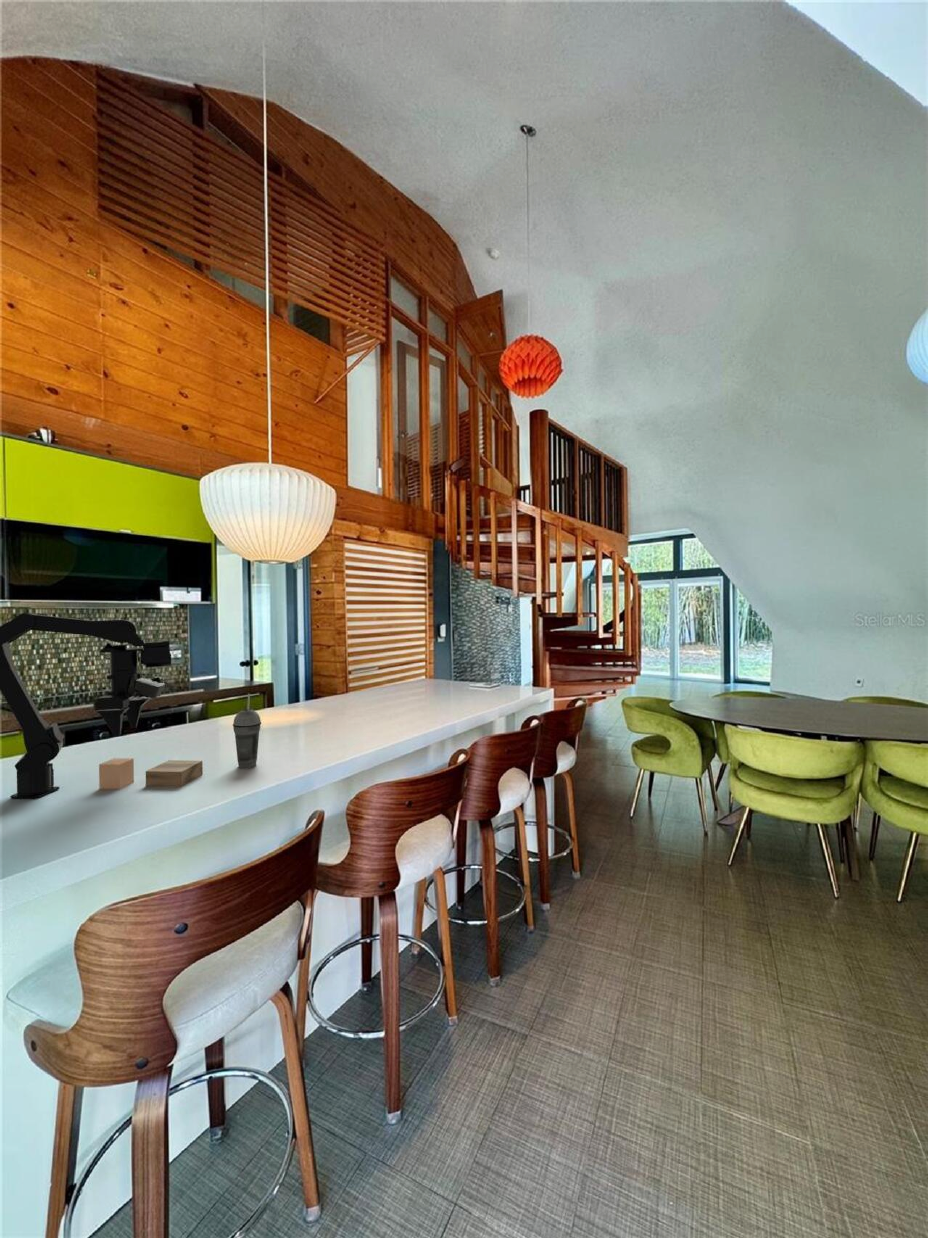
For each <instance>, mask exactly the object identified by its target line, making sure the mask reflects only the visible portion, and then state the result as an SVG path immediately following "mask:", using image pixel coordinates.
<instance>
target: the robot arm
mask: <svg viewBox="0 0 928 1238" xmlns="http://www.w3.org/2000/svg"><path fill="white" fill-rule="evenodd" d="M30 631H37V632H38V631H39V632H50V633H58V634H59V633H61V634H70V635H71V634H72V635H80V636H81V635H82V636H92V637H93V638H98V639H103V640H106V641H110V642H107V643H106V644H105V646H104V647H103V648H101V649H100V650H99V652H100V653H102V654H103V653H104V654H105V653H109V666H110V667H109V669H110V672H109V673H110V674H107V675H106V680H110V691H107V692H106V693H107V695H103V696H99V697H97V698H96V699H95V700H94V701H93V703H92V704H93V706H92V707H93V711H96V713H97V714H99V715H100V717H101V718H102V719H103V720H104V722H105V723H106V725H107V727H108V728H109V730H110V731H111V733H112V735H113V736H114V737H120V736H121V734H122V728H123V717H124V714H125V715H126V718H127V720H128V723H129V725H130V727H131V728H132V729H133V728H137V726H138V723H139V719H140V715H141V712H142V708H143V706H144V705H145V704H146V703H147V702H148V701H150V700H151V699H157V698H158V697H161V694H162V693H163V690H165V688H166V685H165V683H164V680H163V679H164V678H163V677H162V676H155V677H153V678H152V679H150V678H148V679H147V678H143V673H142V672H141V671H138V670H139V669H138V668H139V667H138V663H139V662H138V652H140V653H139V654H140V665H143V666H145V668H146V669H152V668H153V669H154V668H167V667H168V668H170V667H171V666H172V653H171V647H170V640H162V641H146V642H145V640H144V638H142V637H141V635H139V634H138V633H137V632H138V631H137V626H136V624H135V623H134V622H132V621H131V620H128V619H104V620H103V619H101V620H90V619H79V618H70V617H62V616H51V615H42V614H35V613H33V612H23V613H20V614H18V615H17V616H15V618H13V619H11V620H10V621H8V622H5V623H3V624H2V625H0V693H1V694H2V696H3V698H4V700H5V702H6V704H7V705H8V707H9V709H10V710H11V712H12V714H13V716H14V718H15V719H16V721H17V722H18V725H19V726H20V728H21V730H22V738H23V744H24V748H25V751H26V752H25V753H24V754H23V755H22V757H20V759H19V760H18V761H17V762H16V763H15V764H14V768H15V769H16V793H14V794H11V795H10V799H39V798H41V797H44V796H45V795H48V794H50V793H53V792H55V791H58V790H60V786H55V785H54V784H55V783H54V782H55V777H54V775H55V774H54V772H55V771H54V767H53V764H54V763H53V762H52V763H51V761H52V760H54V759H55V758H57V756H58V754H59V753H60V752H61V750H62V748H63V745H64V738H65V735H64V734H63V733H61V731H60V728H59V725H58V723H57V722H53V723H52V724H49V723H48V722H47V721H46V720H45V719H44V718H43V717H42V715H41V713H40V710H39V709H38V708H37V706H36V704H35V702H34V701H33V699H32V697H31V695H30V693H29V691H28V690H27V687H26V686H25V684H24V682H23V680H22V679H21V677H20V675H19V674H18V672H17V670H16V667H15V664H14V661H13V660H14V659H13V652H12V650H11V646H10V644H12V643H13V642H15V641H17V639H19V638H21V637H22V636H25V634H27V633H29V632H30ZM111 642H114V643H117V644H116V645H114V644H111ZM125 643H127V644H129V645H131V646H133V647H135V648H127V644H125ZM136 647H137V648H136ZM138 647H139V648H138Z"/></svg>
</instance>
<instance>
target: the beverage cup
mask: <svg viewBox="0 0 928 1238" xmlns="http://www.w3.org/2000/svg"><path fill="white" fill-rule="evenodd" d="M250 699H251V693H247V707H246V709H242V710H240V711H239V712H237V713H236V715H235V717H234V718H233V724H232V728H233V732H234V737H235V747H236V757H237V764H238V768H239V769H251V768H254V766H255V767H256V766H257V761H258V753H259V752H258V751H259V738H260V730H261V725H262V720H261V717H260V715H259V714H258V712H257V711H255V710H254V709H252V708H250V704H251V703H250V701H251V700H250Z"/></svg>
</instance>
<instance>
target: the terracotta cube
mask: <svg viewBox="0 0 928 1238" xmlns="http://www.w3.org/2000/svg"><path fill="white" fill-rule="evenodd" d="M134 760H135V759H134V757H133V758H130V757H129V758H128V757H127V758H126V757H124V758H123V757H122V758H120V757H119V758H116V757H115V758H114V757H113V758H112V759H109V760H107V761H106V760H105V761H104V762H101V763H99V764H98V778H99V780H98V781H99V782H98V783H99V784H98V785H99V786H98V787H99V790H122V789H123V788H125V787H127V786H129V785H131V784H134V782H135V773H134V771H135V769H134V766H135V763H134V762H135V761H134Z"/></svg>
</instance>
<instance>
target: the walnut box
mask: <svg viewBox="0 0 928 1238" xmlns="http://www.w3.org/2000/svg"><path fill="white" fill-rule="evenodd" d="M203 765H204V764H203V760H179V759H178V760H173V759H172V760H169V759H168V760H167V761H165V762H163V763H160V764H158V765H155V766H154V767H152V768H149V769H148V770H146V771H145V787H165V788H167V786H168V788H169V787H171V788H174V787H175V788H176V787H177V788H181V787H185V786H186V785H187V784H189V783H191V782H192V781H195V780H196V779H198V778H200V777H201V776H203V775H204V774H203ZM194 779H195V780H194ZM185 784H186V785H185ZM172 786H173V787H172Z"/></svg>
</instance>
